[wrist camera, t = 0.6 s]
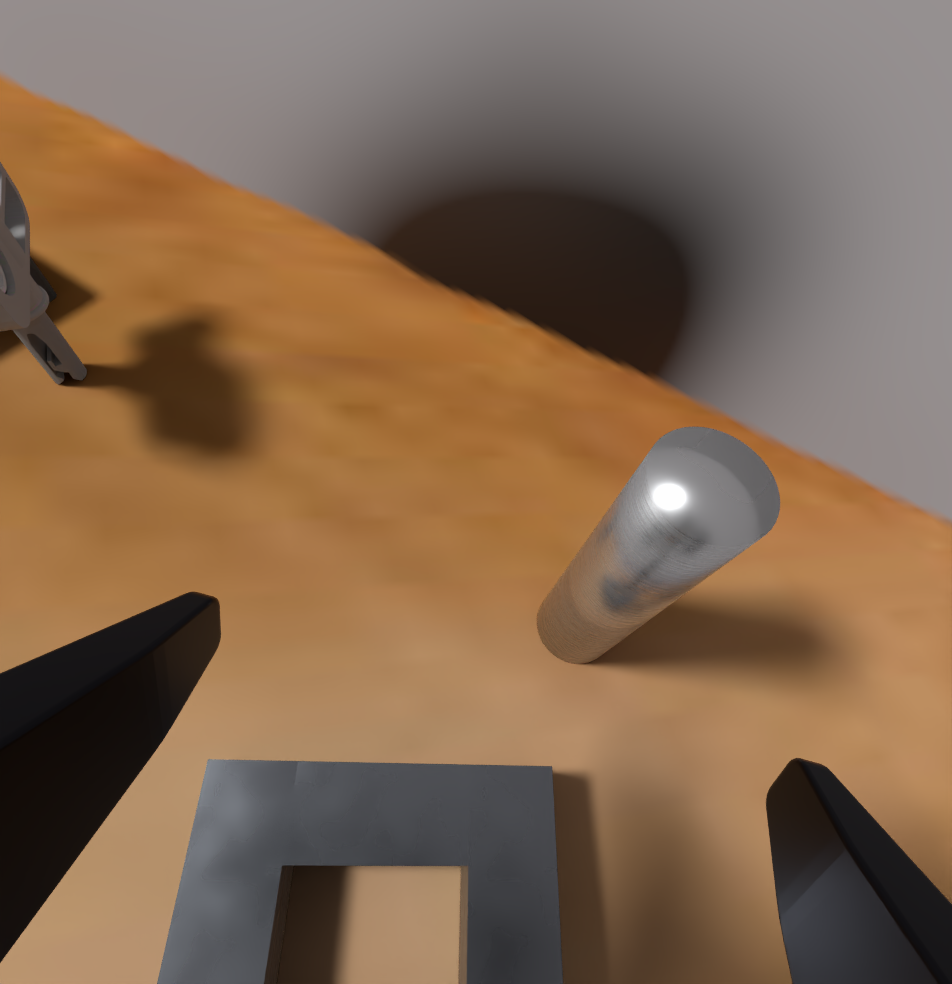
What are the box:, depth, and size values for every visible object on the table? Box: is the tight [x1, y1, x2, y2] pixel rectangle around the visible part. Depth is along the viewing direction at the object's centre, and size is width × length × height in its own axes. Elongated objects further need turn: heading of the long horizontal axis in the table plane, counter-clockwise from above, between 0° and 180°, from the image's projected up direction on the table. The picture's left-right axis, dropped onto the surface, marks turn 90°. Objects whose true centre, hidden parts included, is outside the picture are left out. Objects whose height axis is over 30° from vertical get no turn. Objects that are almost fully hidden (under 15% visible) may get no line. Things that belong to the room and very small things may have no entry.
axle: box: [537, 427, 780, 664], centre depth 20 cm, size 4×4×13 cm
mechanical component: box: [0, 162, 87, 384], centre depth 24 cm, size 3×10×10 cm, turn 21°
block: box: [157, 759, 563, 984], centre depth 17 cm, size 12×12×2 cm
